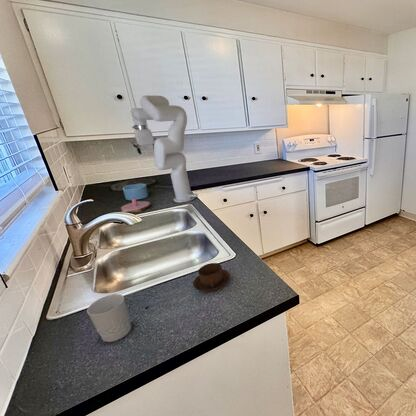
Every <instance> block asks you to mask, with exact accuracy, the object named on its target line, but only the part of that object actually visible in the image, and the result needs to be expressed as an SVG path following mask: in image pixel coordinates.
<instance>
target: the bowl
mask: <svg viewBox="0 0 416 416" xmlns="http://www.w3.org/2000/svg"><path fill="white" fill-rule="evenodd" d="M122 189H123V191H122V192H123V195H124V199H125V200H126V201H131V199H132V198H136V200H137V201H138V200H141V199H146V198H147V197H149V191H148V187H147V186H146V184H134V185H129V186H125V187H123V188H122Z"/></svg>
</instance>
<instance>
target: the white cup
mask: <svg viewBox="0 0 416 416" xmlns="http://www.w3.org/2000/svg"><path fill="white" fill-rule="evenodd" d="M86 312H87V315H88V317H89V319H90V321H91V322H92V325H93V326H94V328H95V330H96V332H97V333H98V334H99V337H100V338H101V340H102V341H103V342H105V343H111V342H116V341H118V340H120V339H123V338H124V337H125V336H127V334H129V333H130V331H131V330H132V323H131V318H130V315H129V309H128V307H127V303H126V299H125V297H124V295H123V294H118V293H115V294H110V295H109V294H108V295H106V296H103V297H101V298H99V299H97V300H95V301H94V302H92V303H91V304H90V305H89V306H88V307H87V309H86Z"/></svg>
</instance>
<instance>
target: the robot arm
mask: <svg viewBox="0 0 416 416" xmlns="http://www.w3.org/2000/svg"><path fill="white" fill-rule="evenodd" d="M139 105H140V107H136V108H135V107H134V108H131V109H130V114H131V118H132V122H133V126H132V127H131V128H132V129H134V139H133V140H131V141H130V142H129V143H130V144H131V145H132V147H134V148H135V149H136V152H137V153H138V154H139V155H142V150H141V148H140V147H141V146H150V145H152V148H153V154H154V155H153V161H154V165H155V167H156V168H157V169H158V170H159V171H166V170H171V171H170V178H171V183H172V188H173V191H174V195H175V197H174V198H173V202H175V203H178V204H179V203H189V202H191V201H193V200H195V198H199V197H198V196H199V194H198V193H194V192H193V191H192V190H191V185H190V181H189V176H188V171H187V157H186V156H185V154H184V153H183V151H184V148H185V132H186V128H187V125H188V116H187V112H186V110H185V109H184V108H183V107H182V106H180V105H173V104H172V105H170V101H169V100H168V98H166V97H165V96H162V95H148V94H147V95H142V96H141V98H140V100H139ZM148 121H156V122H172V123H171V124H170V126H169V127H168V129H167V136H166V137H159V138H155V137H154V135H153V133H152V131H151V129H149V127H148ZM135 143H136V144H135Z"/></svg>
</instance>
